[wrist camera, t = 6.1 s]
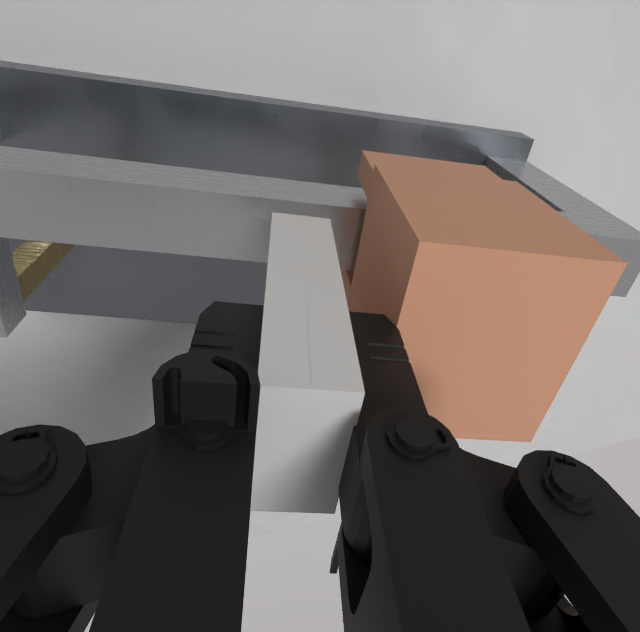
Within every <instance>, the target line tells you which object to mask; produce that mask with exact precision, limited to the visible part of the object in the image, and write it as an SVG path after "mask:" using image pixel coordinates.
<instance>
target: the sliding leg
mask: <svg viewBox="0 0 640 632" xmlns="http://www.w3.org/2000/svg"><path fill="white" fill-rule="evenodd" d="M358 178H359V181H360V183H361V185H362V188H363V190H364V192H365V195H366V197H367V200H368V202H367V208H366V213H365V218H364V223H363V228H362V233H361V238H360V243H359V248H358V254H357V259H356V264H355V269H354V271H348V270H341V275H342V280H343V285H344V290H345V295H346V300H347V305H348V310H349V311H351V312H362V313H373V314H384V315H385V316H386V317H387V318H388V319H389V320H390V321H391V322H392V323H393V324H394V325H395V326H396V327H397V328H398V329H399V331H400V334H401V337H402V340H403V343H404V349H406V351H407V354H408V357H409V363H411V366H412V369H413V372H414V375H415V377H416V380H417V383H418V386H419V389H420V392H421V395H422V398H423V400H424V403H425V406H426V409H427V412H428V415H430V416H432V417H434V418H436V419H437V420H439V421H440V422H441V423H442V424H443V425H444V426H446V427H447V428H448V429H449V430H450V432H451V433H452V435H453V436H454V438H462V439H481V440H500V441H519V442H531V440H532V438H533V436H534V435H535V433H536V431H537V429H538V427H539V425H540V424H541V422H542V420H543V418H544V416H545V414H546V413H547V411H548V409H549V407H550V405H551V403H552V402H553V400H554V398H555V396H556V394H557V392H558V390H559V389H560V387H561V385H562V383H563V381H564V379H565V378H566V376H567V374H568V372H569V370H570V368H571V367H572V365H573V363H574V361H575V359H576V357H577V355H578V354H579V352H580V350H581V348H582V346H583V344H584V343H585V341H586V339H587V337H588V335H589V333H590V332H591V330H592V328H593V326H594V324H595V322H596V320H597V319H598V317H599V315H600V313H601V311H602V309H603V308H604V306H605V304H606V302H607V300H608V298H609V297H610V295H611V293H612V291H613V289H614V287H615V286H616V284H617V282H618V280H619V278H620V276H621V274H622V273H623V271H624V269H625V267H626V265H627V262H625V261H624V260H623V259H621V258H620V257H619V256H617V255H616V254H614V253H613V252H612V251H610V250H609V249H608V248H606V247H605V246H604V245H602V244H601V243H600V242H598V241H597V240H595V239H594V238H593V237H591V236H590V235H589V234H587V233H586V232H585V231H583V230H582V229H581V228H579V227H578V226H576V225H575V224H574V223H572V222H571V221H570V220H568V219H567V218H566V217H564V216H563V215H562V214H560V213H559V212H557V211H556V210H555V209H553V208H552V207H551V206H549V205H548V204H547V203H545V202H544V201H543V200H541V199H540V198H538V197H537V196H536V195H534V194H533V193H532V192H530V191H529V190H528V189H526V188H525V187H524V186H522V185H521V184H520V183H518V182H517V181H509V180H502V179H501V178H500V177H499V176H497V175H496V174H495V173H493V172H492V171H491V170H490V169H488V168H487V167H486V166H482V165H474V164H466V163H458V162H451V161H443V160H435V159H427V158H419V157H411V156H404V155H396V154H388V153H380V152H372V151H364V150H362V154H361V159H360V165H359V170H358Z"/></svg>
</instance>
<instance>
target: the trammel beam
mask: <svg viewBox="0 0 640 632" xmlns="http://www.w3.org/2000/svg"><path fill="white" fill-rule="evenodd" d="M1 141H3V139H2V134H1V130H0V142H1ZM484 166H486V167H487V168H488V169H490V170H491V171H492V172H493V173H495V174H496V175H497V176H499V177H500V178H501V179H502V180H509V181H517V182H518V183H520V184H521V185H522V186H524V187H525V188H526V189H528V190H529V191H530V192H532V193H533V194H534V195H536V196H537V197H538V198H540V199H541V200H543V201H544V202H545V203H547V204H548V205H549V206H551V207H552V208H553V209H555V210H556V211H557V212H559V213H560V214H562V215H563V216H564V217H566V218H567V219H568V220H570V221H571V222H572V223H574V224H575V225H576V226H578V227H579V228H581V229H582V230H583V231H585V232H586V233H587V234H589V235H590V236H591V237H593V238H594V239H595V240H597V241H598V242H600V243H601V244H602V245H604V246H605V247H606V248H608V249H609V250H610V251H612V252H613V253H614V254H616V255H617V256H619V257H620V258H621V259H623V260H624V261H625V262H627V265H626V267H625V269H624V271H623V273H622V274H621V276H620V278H619V280H618V282H617V284H616V286H615V287H614V289H613V291H612V293H611V296H621V297H626V295H627V293H628V291H629V290H630V288H631V286H632V284H633V283H634V281H635V279H636V277H637V275H638V274H639V272H640V231H638V230H636V229H635V228H633V227H631V226H630V225H628V224H627V223H625V222H623V221H622V220H620V219H619V218H617V217H615V216H614V215H612V214H611V213H609V212H607V211H606V210H604V209H603V208H601V207H599V206H598V205H596V204H594V203H593V202H591V201H590V200H588V199H586V198H585V197H583V196H582V195H580V194H578V193H577V192H575V191H574V190H572V189H570V188H569V187H567V186H566V185H564V184H562V183H561V182H559V181H558V180H556V179H554V178H553V177H551V176H549V175H548V174H546V173H545V172H543V171H541V170H540V169H538V168H537V167H535V166H533V165H532V164H530V163H529V162H527V161H522V160H514V159H507V158H499V157H491V156H487V158H486V161H485V164H484ZM367 202H368V200H367V197H366V195H365V192H364V190H363V188H356V187H347V186H339V185H330V184H322V183H313V182H304V181H296V180H287V179H279V178H270V177H262V176H253V175H245V174H236V173H228V172H219V171H211V170H202V169H194V168H185V167H177V166H168V165H160V164H151V163H143V162H134V161H126V160H117V159H109V158H100V157H92V156H83V155H75V154H66V153H58V152H49V151H41V150H32V149H24V148H15V147H7V146H0V337H8V335H9V334H10V333H11V332H12V331H13V330H14V328H15V327H16V326H17V325H18V324H19V323H20V322H21V320H22V319H23V318H24V317H25V316H26V315H27V314H26V310H25V306H24V301H25V300H26V299H27V297H28V296H29V295H30V294H31V293H32V292H33V291H34V290H35V289H36V288H37V287H38V285H39V284H40V283H41V282H42V281H43V280H44V279H45V278H46V277H47V276H48V275H49V273H50V272H51V271H52V270H53V269H54V268H55V267H56V266H57V265H58V264H59V263H60V261H61V260H62V259H63V258H64V257H65V256H66V255H67V254H68V253H69V252H70V250H71V249H72V248H73V247H74V246H75V245H86V246H97V247H107V248H118V249H128V250H139V251H149V252H160V253H170V254H180V255H191V256H201V257H212V258H222V259H233V260H243V261H254V262H264V263H268V255H269V243H270V232H271V221H272V212H275V213H284V214H293V215H302V216H310V217H319V218H328V219H330V220H331V225H332V230H333V235H334V240H335V245H336V250H337V255H338V260H339V265H340V270H348V271H354V269H355V264H356V259H357V254H358V248H359V243H360V238H361V233H362V228H363V223H364V218H365V213H366V208H367ZM8 238H13V239H23V240H26V241H25V242H24V243H22V244H21V245H20V246H19V247H18V248H17V249H16V250H14V251H13V252H11V248H10V244H9V240H8Z"/></svg>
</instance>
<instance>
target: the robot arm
mask: <svg viewBox="0 0 640 632" xmlns="http://www.w3.org/2000/svg"><path fill="white" fill-rule="evenodd" d="M152 385H153V399H154V413H155V425H153V426H152V427H150V428H149V429H147V430H145V431H142V432H140V433H138V434H136V435H133V436H129V437H126V438H122V439H118V440H113V441H108V442H103V443H97V444H92V445H87V446H85V444H84V443H83V442H82V440H81V439H80V438H79V436H78V435H77V434H76V433H74V432H72V431H70V430H68V429H65V428H63V427H61V426H51V425H34V426H28V427H22V428H16V429H14V430H11V431H9V432H6V433H4V434H2V435H0V632H84V631H85V629H86V627H87V625H88V623H89V622H90V620H91V618H92V616H93V615H94V613H95V615H94V618H93V621H92V624H91V627H90V630H89V632H241V624H242V623H241V622H242V611H243V598H244V585H245V572H246V559H247V545H248V533H249V520H250V511H275V512H302V513H330V514H335V510H336V506H337V502H338V498H339V499H340V509H341V519H342V522H341V526H340V530H339V533H338V537H337V541H336V544H335V548H334V552H333V556H332V559H331V567H330V573H337V569H338V566H339V576H340V588H341V599H342V611H343V623H344V632H640V517H639V516H638V515H637V514H636V513H635V512H634V511H633V510H632V509H631V508H630V506H629V505H628V504H627V503H626V502H625V501H624V500H623V499H622V498H621V497H620V496H619V495H618V494H617V492H615V490H614V489H613V488H612V487H611V486H610V485H609V484H608V483H607V482H606V481H605V480H604V479H603V478H602V477H601V476H599V475H598V474H597V473H596V472H595V471H594V470H592V469H591V468H590V467H589V466H587V465H585V464H583V463H581V462H580V461H578V460H576V459H574V458H573V457H571V456H568V455H564V454H561V453H558V452H555V451H541V450H536V451H533V452H531V453H529V454H526V455H524V456H523V458H522V460H521V461H520V463H519V465H518V466H517V468H514V467H511V466H507V465H504V464H501V463H498V462H495V461H492V460H488V459H485V458H482V457H479V456H476V455H474V454H471V453H469V452H466V451H464V450H462V449H461V448H459V445H458V443H457V441H456V440H455V438H454V436H453V435H452V433H451V432H450V430H449V429H448V428H447V427H446V426H444V425H443V424H442V423H441V422H440V421H439V420H437V419H436V418H434V417H432V416H430V415H428V412H427V409H426V406H425V403H424V400H423V398H422V395H421V392H420V389H419V386H418V383H417V380H416V377H415V375H414V372H413V369H412V366H411V363H409V357H408V354H407V351H406V349H404V343H403V340H402V337H401V334H400V331H399V329H398V328H397V327H396V326H395V325H394V324H393V323H392V322H391V321H390V320H389V319H388V318H387V317H386V316H385V315H384V314H373V313H362V312H351V311H349V310H348V305H347V300H346V295H345V290H344V285H343V280H342V275H341V270H340V265H339V260H338V255H337V250H336V245H335V240H334V235H333V230H332V225H331V220H330V219H328V218H319V217H310V216H302V215H293V214H284V213H275V212H272V221H271V232H270V243H269V255H268V266H267V277H266V288H265V300H264V305H253V304H242V303H231V302H220V301H214V302H213V303H212V304H211V305H210V306H208V307H207V308H206V309H205V310H204V311H203V312H202V313H201V314H200V316H199V319H198V322H197V326H196V329H195V334H194V336H193V339H192V342H191V348H190V349H189V352H188V353H185V354H182V355H178V356H175V357H174V358H172V359H171V360H169V361H168V362H166V363H164V364H163V365H161V366H160V368H159V369H158V371H157V372H156V374H155V375H154V376H153V378H152ZM564 594H565V595H566V596H567V598H568V599H569V601H570V602H571V604H572V605H573V606H572V605H571V604H570V603H569V602H568V600H567V599H566V598H565V597H564ZM95 611H96V612H95Z"/></svg>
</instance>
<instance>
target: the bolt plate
mask: <svg viewBox="0 0 640 632" xmlns="http://www.w3.org/2000/svg"><path fill="white" fill-rule="evenodd" d="M0 130H1V134H2V139H3V141H1V142H0V146H7V147H15V148H24V149H32V150H41V151H49V152H58V153H66V154H75V155H83V156H92V157H100V158H109V159H117V160H126V161H134V162H143V163H151V164H160V165H168V166H177V167H185V168H194V169H202V170H211V171H219V172H228V173H236V174H245V175H253V176H262V177H270V178H279V179H287V180H296V181H304V182H313V183H322V184H330V185H339V186H347V187H356V188H362V185H361V183H360V181H359V178H358V170H359V165H360V159H361V154H362V150H364V151H372V152H380V153H388V154H396V155H404V156H411V157H419V158H427V159H435V160H443V161H451V162H458V163H466V164H474V165H482V166H484V164H485V161H486V158H487V156H491V157H499V158H507V159H514V160H522V161H526V160H527V158H528V155H529V152H530V149H531V147H532V144H533V141H534V139H532V138H530V137H528V136H526V135H524V134H522V133H519V132H512V131H505V130H497V129H490V128H483V127H476V126H468V125H461V124H454V123H447V122H439V121H432V120H425V119H418V118H410V117H403V116H396V115H389V114H381V113H374V112H367V111H360V110H352V109H345V108H338V107H331V106H324V105H316V104H309V103H302V102H295V101H287V100H280V99H273V98H266V97H258V96H251V95H244V94H237V93H229V92H222V91H215V90H208V89H200V88H193V87H186V86H179V85H171V84H164V83H157V82H150V81H142V80H135V79H128V78H121V77H113V76H106V75H99V74H92V73H84V72H77V71H70V70H63V69H55V68H48V67H41V66H34V65H26V64H19V63H12V62H5V61H0ZM8 240H9V244H10V248H11V252H13V251H14V250H16V249H17V248H18V247H19V246H20V245H21V244H22V243H24V242H25V241H26V240H23V239H13V238H8ZM267 266H268V263H264V262H254V261H243V260H233V259H222V258H212V257H201V256H191V255H180V254H170V253H160V252H149V251H139V250H128V249H118V248H107V247H97V246H86V245H75V246H74V247H73V248H72V249H71V250H70V252H69V253H68V254H67V255H66V256H65V257H64V258H63V259H62V260H61V261H60V263H59V264H58V265H57V266H56V267H55V268H54V269H53V270H52V271H51V272H50V273H49V275H48V276H47V277H46V278H45V279H44V280H43V281H42V282H41V283H40V284H39V285H38V287H37V288H36V289H35V290H34V291H33V292H32V293H31V294H30V295H29V296H28V297H27V299H26V300H25V301H24V306H25V310H30V311H43V312H56V313H69V314H81V315H94V316H107V317H120V318H133V319H145V320H158V321H171V322H184V323H197V322H198V319H199V316H200V314H201V313H202V312H203V311H204V310H205V309H206V308H207V307H208V306H210V305H211V304H212V303H213V302H214V301H220V302H231V303H242V304H253V305H264V300H265V288H266V277H267Z"/></svg>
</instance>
